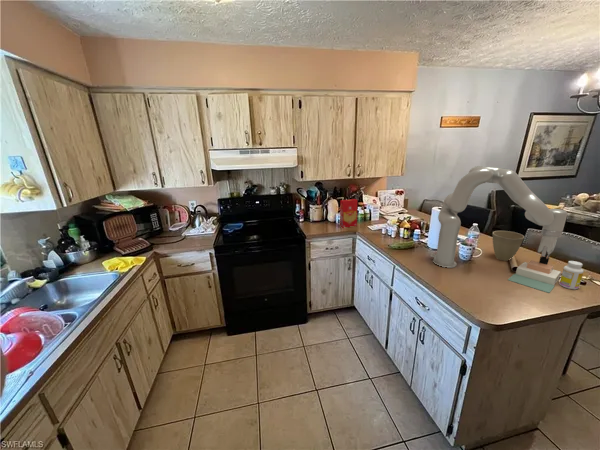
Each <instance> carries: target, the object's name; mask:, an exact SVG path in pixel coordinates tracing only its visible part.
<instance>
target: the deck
mask: <svg viewBox="0 0 600 450" xmlns="http://www.w3.org/2000/svg"><path fill="white" fill-rule="evenodd" d="M528 263H529V262H526V261H524V262H523V263H521V264H520V265H519V266H518V267H517V268H516V271H515V274H517V275H521V276H524V277H527V278H531V279H534V280H538V281H541V282H544V283H548V284H551V285H555V284H557V282H558V281H559V280H560V278H561V275H562V271H560V270H556V269H553V270H552V272H551V273H550V274H547V273H544V272H540V271H536V270H533V269H529V268H527V264H528Z"/></svg>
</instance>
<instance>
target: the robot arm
mask: <svg viewBox="0 0 600 450" xmlns="http://www.w3.org/2000/svg"><path fill="white" fill-rule="evenodd" d="M486 183H488V184H489V183H490V184H497V185H499V186H500V188H501V189H502V190H503V191H504V192H505V194H507V195H508V197H509V198H510V200H511V201H513V202H514V203H515V204H517V205H518V206H519V207H520V208H522V209H524V211H525V212H524V216H525V219H527V220H528V221H530V222H532V223H534V224H535V225H538V226H539V227H542V229H541V233H540V234H541V235H542V237H541V240H540V243H539V245H538V248H537V253H540V254H541V255H540V257H539V261H538V262H539V263H543V264H547V265H549V260H550V256H551V254H552V253H553V252H554V250H555V248H556V244H557V240H558V238H562V234H563V231H564V227H565V224H566V221H567V217H568V211H566V210H564V209H559V208H549V207H548V206H547V204H545V203H544V201H542V200H541V198H539V197H538V196H537V195H536V194H535V193H534V192H533V191H532V190H531V189H530V188H529V186H528V185H527V184H526V183H525V182H524V181H523V180H522V178H521V177H520V175H518V174H517V172H516V171H515V170H512V169H508V168H501V167H492V166H479V165H478V166H474V167H472V168H471V169H469V171H468V173H466V174H465V175H464V176H463V177H461V178H460V179H459V181H458V182H457V184H456V186H455V188H454V190H453V193H449V194H448V195H446V197H444V198H445V199H444V200H443V203H442V205H441V208H440V211H439V212H438V217H437V220H438V222H439V223H440V229H439V234H438V240H437V241H438V242H437V249H436V253H435V252H430V254H429V255H430V258H433V259H432V263H433V262H434V263H435V264H437V265H439V266H438V267H440V266H442V267H441V268H445V267H447V268H446V269H453V268H456V267H457V262H456V261H455V257H456V250H457V243H458V237H459V232H460V228H461V226H462V225H461V224H462V222H461V218H460V217H459V216H458V213H462V212H463V211H465V210H466V208H467V206H468V203H469V200H470V198H471V196H472V195H473V192H474V191H475V189H476V188H477V187H478V186H480V185H483V184H486ZM434 263H433V264H434ZM435 264H434V265H435ZM437 265H436V266H437Z"/></svg>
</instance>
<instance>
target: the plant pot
mask: <svg viewBox="0 0 600 450" xmlns="http://www.w3.org/2000/svg"><path fill="white" fill-rule="evenodd" d="M524 240H525V236H524V235H523V234H521V233H518V232H515V231H510V230H509V231H508V230H495V231H492V246H493V253H494V256H495V258H496V259H497V260H499V261H505V262H508V260H509V259H510V258H512V257H513V258H514V257H515V255H516V254H517V252H518V251H519V250H520V247H521V245H522V243H523V241H524ZM513 258H512V259H513Z"/></svg>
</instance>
